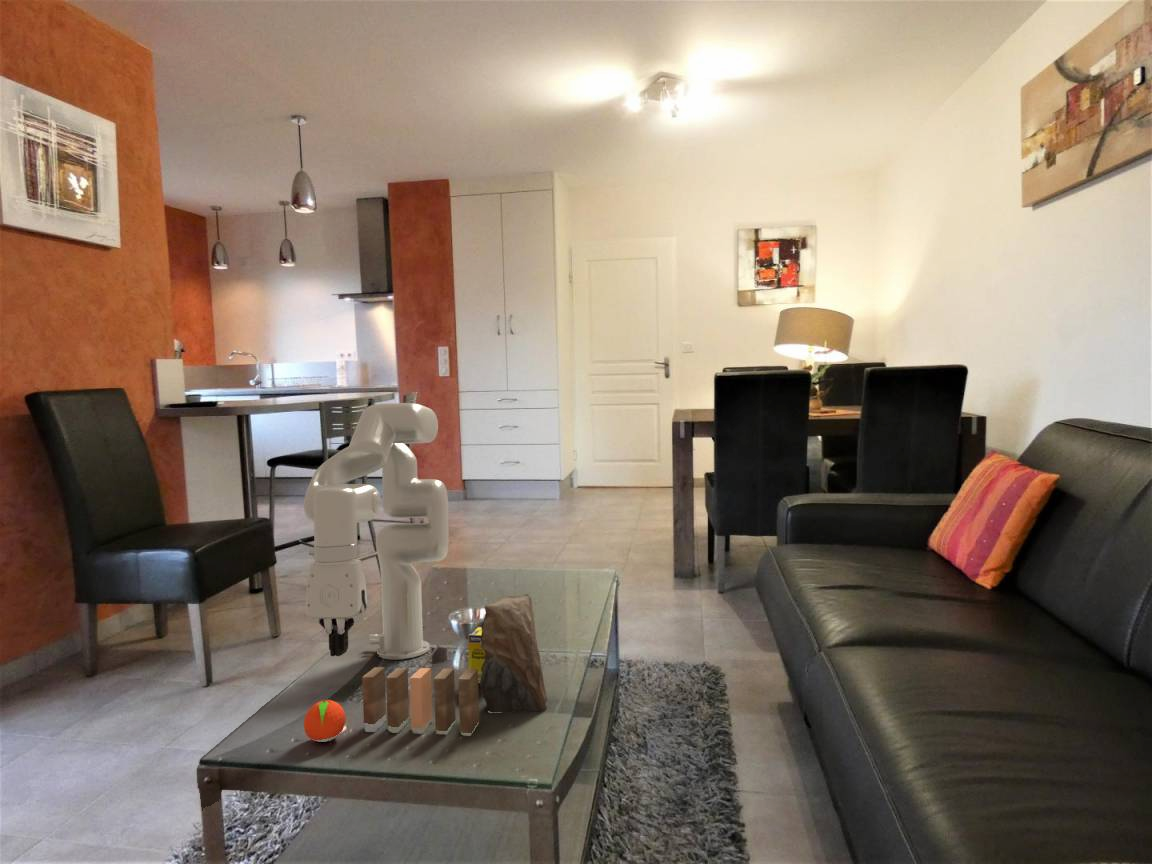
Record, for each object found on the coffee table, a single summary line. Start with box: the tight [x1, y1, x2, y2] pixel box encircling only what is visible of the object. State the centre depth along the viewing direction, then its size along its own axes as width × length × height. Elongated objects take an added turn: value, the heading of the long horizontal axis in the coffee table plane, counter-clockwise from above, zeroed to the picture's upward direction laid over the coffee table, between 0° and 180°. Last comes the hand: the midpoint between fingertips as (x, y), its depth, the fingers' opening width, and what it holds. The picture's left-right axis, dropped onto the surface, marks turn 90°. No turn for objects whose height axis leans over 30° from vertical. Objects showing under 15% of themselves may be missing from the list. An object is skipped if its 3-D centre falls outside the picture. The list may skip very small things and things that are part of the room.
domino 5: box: [457, 668, 480, 733], centre depth 119 cm, size 2×5×10 cm, turn 172°
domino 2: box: [385, 667, 410, 727], centre depth 121 cm, size 2×5×10 cm, turn 172°
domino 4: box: [433, 668, 457, 731], centre depth 120 cm, size 2×5×10 cm, turn 172°
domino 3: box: [409, 667, 433, 729], centre depth 121 cm, size 2×5×10 cm, turn 172°
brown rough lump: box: [480, 593, 548, 713], centre depth 132 cm, size 13×13×20 cm
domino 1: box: [361, 666, 387, 724], centre depth 122 cm, size 2×5×10 cm, turn 172°
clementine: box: [303, 699, 347, 740], centre depth 116 cm, size 8×7×7 cm
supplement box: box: [467, 626, 485, 688], centre depth 142 cm, size 6×6×11 cm
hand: (338, 653), depth 122 cm, fingers closed
